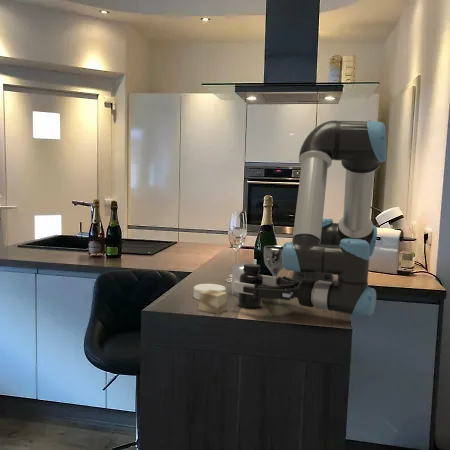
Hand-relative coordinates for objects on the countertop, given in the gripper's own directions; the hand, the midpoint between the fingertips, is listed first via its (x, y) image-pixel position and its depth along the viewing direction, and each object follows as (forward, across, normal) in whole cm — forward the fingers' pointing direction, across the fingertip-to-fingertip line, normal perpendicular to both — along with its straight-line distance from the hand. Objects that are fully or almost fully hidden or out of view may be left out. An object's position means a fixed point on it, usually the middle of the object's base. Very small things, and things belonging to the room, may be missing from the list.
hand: (246, 282), depth 143 cm
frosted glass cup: (+7, +12, -7) cm, 15 cm away
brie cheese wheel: (+13, +1, -7) cm, 15 cm away
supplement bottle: (-1, 0, -7) cm, 7 cm away
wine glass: (0, +20, -7) cm, 21 cm away
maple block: (+5, -10, -7) cm, 13 cm away
